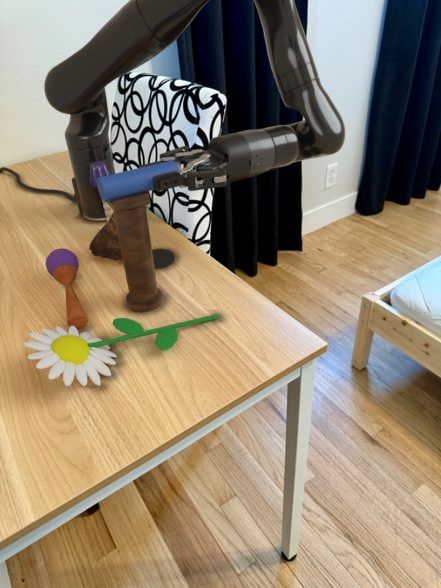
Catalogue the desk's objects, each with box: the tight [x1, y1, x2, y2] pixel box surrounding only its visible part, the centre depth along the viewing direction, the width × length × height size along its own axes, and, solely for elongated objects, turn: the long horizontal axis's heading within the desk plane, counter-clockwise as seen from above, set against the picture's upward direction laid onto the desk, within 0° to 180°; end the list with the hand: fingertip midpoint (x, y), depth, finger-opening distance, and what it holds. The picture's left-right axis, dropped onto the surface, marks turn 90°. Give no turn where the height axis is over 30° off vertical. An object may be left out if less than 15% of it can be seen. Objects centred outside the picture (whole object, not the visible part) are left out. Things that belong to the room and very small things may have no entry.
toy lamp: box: [90, 161, 113, 223], centre depth 91 cm, size 5×5×17 cm
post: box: [107, 191, 164, 313], centre depth 71 cm, size 6×6×21 cm
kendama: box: [45, 247, 89, 331], centre depth 77 cm, size 6×6×20 cm
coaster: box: [152, 248, 176, 270], centre depth 88 cm, size 7×7×1 cm
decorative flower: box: [23, 313, 220, 387], centre depth 67 cm, size 13×5×30 cm
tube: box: [97, 160, 179, 202], centre depth 65 cm, size 12×4×4 cm, turn 121°
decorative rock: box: [88, 213, 123, 262], centre depth 86 cm, size 12×6×11 cm, turn 77°
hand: (147, 178), depth 65 cm, fingers open, 4 cm apart
